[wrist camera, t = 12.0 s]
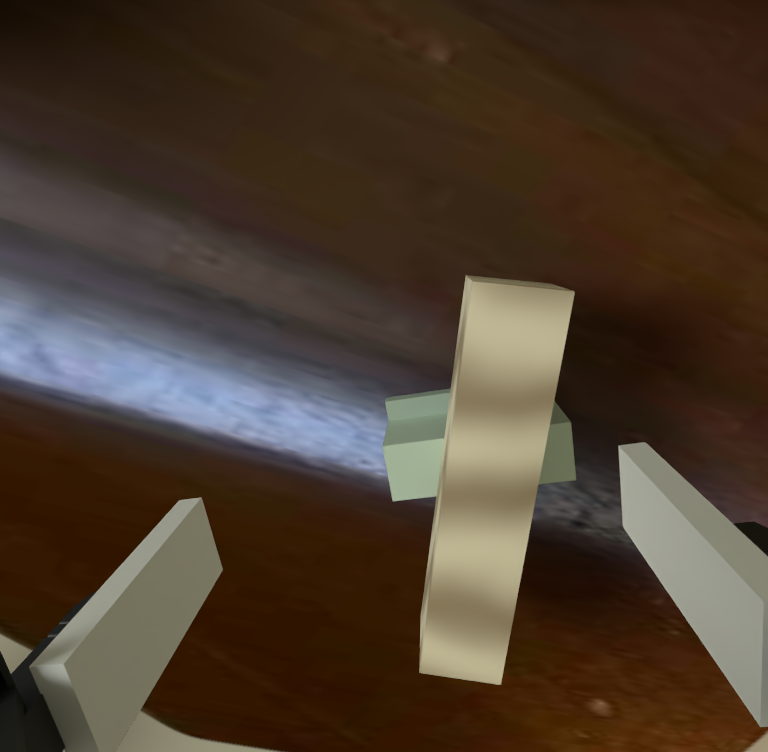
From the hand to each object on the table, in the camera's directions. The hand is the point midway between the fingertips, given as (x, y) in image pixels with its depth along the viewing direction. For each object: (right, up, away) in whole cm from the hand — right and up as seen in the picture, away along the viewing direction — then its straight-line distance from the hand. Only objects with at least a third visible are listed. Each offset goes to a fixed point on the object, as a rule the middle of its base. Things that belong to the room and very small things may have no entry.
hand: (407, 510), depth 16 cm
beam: (+5, -2, +17) cm, 18 cm away
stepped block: (+6, 0, +23) cm, 24 cm away
